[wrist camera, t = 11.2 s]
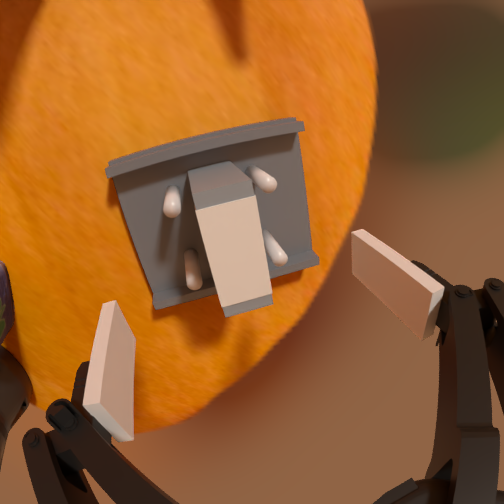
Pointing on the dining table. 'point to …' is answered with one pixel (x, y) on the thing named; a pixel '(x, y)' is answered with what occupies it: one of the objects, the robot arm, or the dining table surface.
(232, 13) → the dining table surface
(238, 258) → the block
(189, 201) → the grey pegged base
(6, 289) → the flask
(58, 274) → the dining table surface
